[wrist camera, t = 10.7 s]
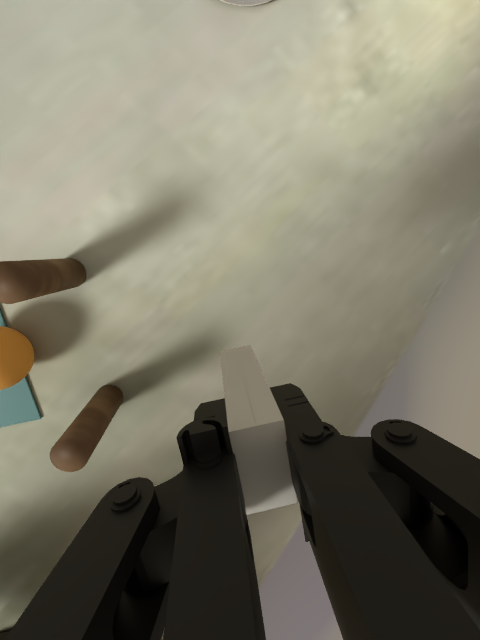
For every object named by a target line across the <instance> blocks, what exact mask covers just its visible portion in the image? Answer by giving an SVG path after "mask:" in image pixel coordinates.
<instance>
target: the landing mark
mask: <svg viewBox="0 0 480 640" xmlns="http://www.w3.org/2000/svg"><path fill="white" fill-rule="evenodd" d="M0 326H2V327H7V325H6V323H5V320H4V317H3V315H2V312H1V310H0ZM38 419H41V415H40V412H39V410H38V407H37V404H36V402H35V399H34V396H33V394H32V391H31V389H30V386H29V383H28V381H27V378H26V376H25V377H24V378H23V379H22V380H21V381H20V382H18V383H17V384H15V385H13V386H11V387H9V388H6V389H3V390H0V427H4V426H9V425H14V424H18V423H23V422H28V421H33V420H38Z"/></svg>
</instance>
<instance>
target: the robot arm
mask: <svg viewBox="0 0 480 640" xmlns="http://www.w3.org/2000/svg"><path fill="white" fill-rule="evenodd" d="M220 357H221V367H222V376H223V385H224V395H225V398H224V399H220V400H215V401H210V402H205V403H201V404H200V405H199V407H198V408H197V409H196V411H195V415H194V421H193V422H191V423H189V424H187V425H186V426H185V427H183V428H182V429H181V430H180V431H179V433H178V436H177V441H178V445H179V449H180V453H181V457H182V460H183V464H184V466H183V471H182V472H180V473H179V474H178V475H177V476H175V477H173V478H172V479H170V480H168V481H166V482H164V483H162V484H160V485H158V486H156V487H154V485H153V482H151V481H150V480H149V479H147V478H140V477H138V478H133V479H129V480H127V481H124V482H122V483H120V484H118V485H117V486H115V487H114V488H113V489H111V490H110V491H109V492H108V493H107V494H106V495H105V496H104V497H103V498H102V499H101V501H100V502H99V504H98V505H97V507H96V508H95V509H94V511H93V512H92V514H91V515H90V517H89V518H88V520H87V521H86V523H85V524H84V525H83V527H82V528H81V530H80V531H79V533H78V534H77V536H76V537H75V538H74V540H73V541H72V543H71V544H70V546H69V547H68V549H67V550H66V551H65V553H64V554H63V556H62V557H61V559H60V560H59V562H58V563H57V565H56V566H55V567H54V569H53V570H52V572H51V573H50V575H49V576H48V578H47V579H46V580H45V582H44V583H43V585H42V586H41V588H40V589H39V591H38V592H37V594H36V595H35V596H34V598H33V599H32V601H31V602H30V604H29V605H28V607H27V608H26V609H25V611H24V612H23V614H22V615H21V617H20V618H19V620H18V621H17V622H16V624H15V625H14V627H13V628H12V630H11V631H7V632H2V633H0V640H161V637H162V634H163V631H164V638H163V640H266V637H265V630H264V623H263V617H262V610H261V603H260V596H259V590H258V583H257V576H256V569H255V563H254V556H253V549H252V542H251V536H250V530H249V525H248V521H247V515H249V514H253V513H257V512H261V511H266V510H270V509H274V508H278V507H283V506H287V505H291V504H295V503H297V499H296V495H297V498H298V501H299V503H300V509H301V516H302V522H303V528H304V534H305V541H306V542H308V541H310V544H311V547H312V549H313V553H314V556H315V558H316V561H317V564H318V567H319V570H320V573H321V576H322V579H323V582H324V585H325V588H326V590H327V593H328V596H329V599H330V602H331V605H332V608H333V611H334V614H335V616H336V619H337V622H338V625H339V628H340V631H341V634H342V637H343V640H480V459H478V458H476V457H475V456H473V455H471V454H469V453H467V452H466V451H464V450H462V449H460V448H459V447H457V446H455V445H453V444H452V443H450V442H448V441H446V440H444V439H443V438H441V437H439V436H437V435H435V434H434V433H432V432H430V431H428V430H427V429H424V428H423V427H421V426H419V425H417V424H414V423H412V422H409V421H404V420H396V419H395V420H385V421H381V422H379V423H377V424H376V425H374V426H373V428H372V430H371V437H350V436H344V435H340V433H339V432H338V431H337V429H335V428H334V427H333V426H332V425H330V424H328V423H325V422H322V421H321V419H320V418H319V416H318V415H317V413H316V412H315V410H314V409H313V407H312V406H311V404H310V403H309V401H308V400H307V398H306V397H305V395H304V394H303V392H302V391H301V389H300V388H299V387H297V386H295V385H293V384H291V383H290V384H285V385H280V386H276V387H271V388H269V386H268V383H267V381H266V379H265V377H264V374H263V372H262V370H261V368H260V365H259V363H258V361H257V358H256V356H255V354H254V352H253V349H252V347H251V345H249V346H244V347H239V348H234V349H229V350H224V351H220ZM295 492H296V493H295ZM164 627H165V630H164Z"/></svg>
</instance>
